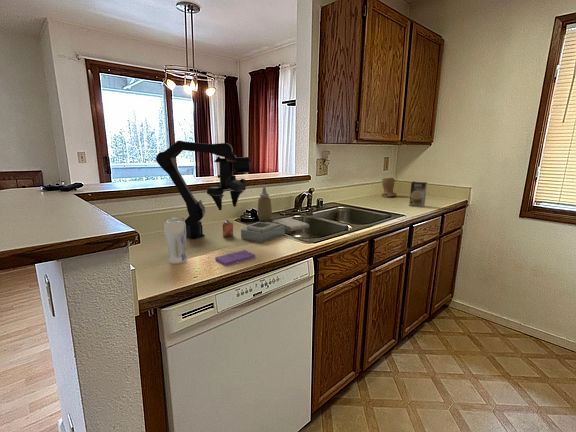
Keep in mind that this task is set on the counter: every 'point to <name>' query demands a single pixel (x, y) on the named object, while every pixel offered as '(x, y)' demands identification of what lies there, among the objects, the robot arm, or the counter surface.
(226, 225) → the spout can
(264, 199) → the squeeze bottle
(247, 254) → the sponges
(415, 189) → the coffee box
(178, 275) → the counter surface
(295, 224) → the washcloth
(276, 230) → the grey piece
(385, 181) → the brown boot
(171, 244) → the beer glass
